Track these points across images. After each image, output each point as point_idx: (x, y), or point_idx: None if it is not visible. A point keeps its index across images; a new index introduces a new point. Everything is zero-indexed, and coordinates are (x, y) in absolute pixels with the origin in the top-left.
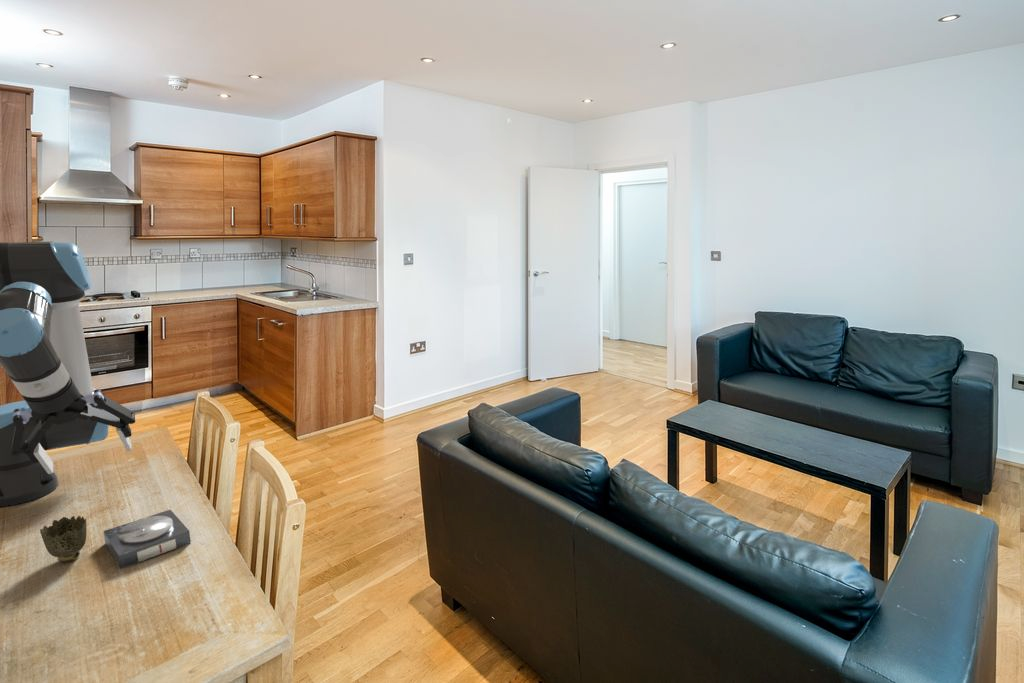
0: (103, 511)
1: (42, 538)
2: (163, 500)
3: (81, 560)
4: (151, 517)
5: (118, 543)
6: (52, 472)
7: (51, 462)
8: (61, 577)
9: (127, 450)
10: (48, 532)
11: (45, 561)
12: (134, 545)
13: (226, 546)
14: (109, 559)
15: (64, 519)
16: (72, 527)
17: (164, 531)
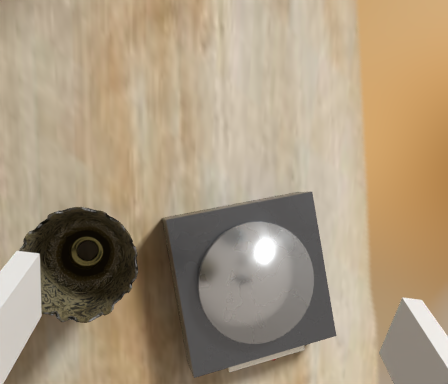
0: (162, 26)
1: None
2: (291, 61)
3: None
4: (273, 230)
5: (195, 312)
6: (39, 317)
7: (29, 281)
8: (72, 331)
9: (383, 357)
10: (38, 233)
11: None
12: (227, 343)
13: (375, 380)
14: (168, 303)
15: (79, 210)
16: (98, 215)
17: (293, 327)
